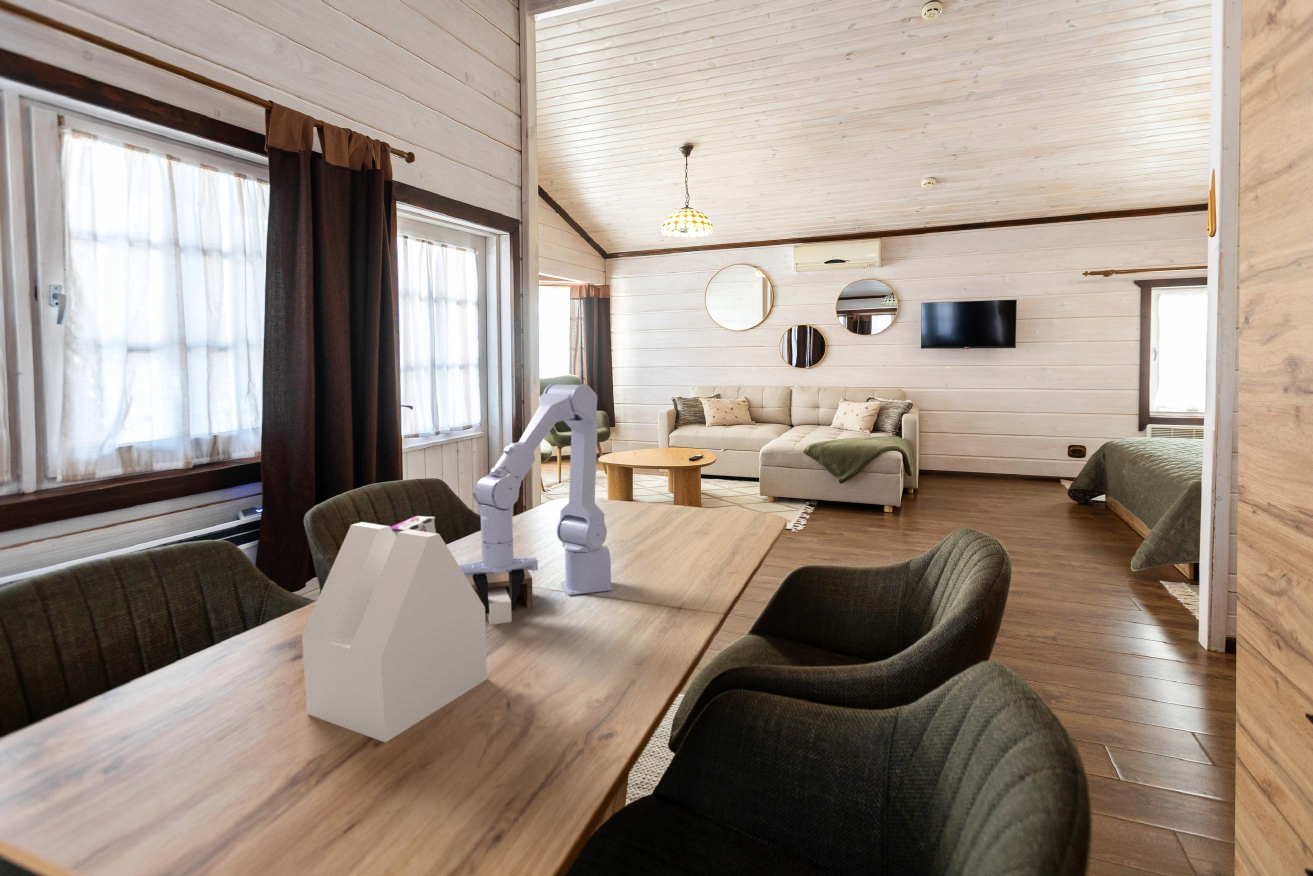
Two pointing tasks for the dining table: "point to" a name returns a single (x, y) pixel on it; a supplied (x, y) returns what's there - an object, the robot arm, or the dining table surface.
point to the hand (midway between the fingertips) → (499, 610)
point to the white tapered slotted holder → (392, 633)
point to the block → (499, 605)
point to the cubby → (503, 580)
